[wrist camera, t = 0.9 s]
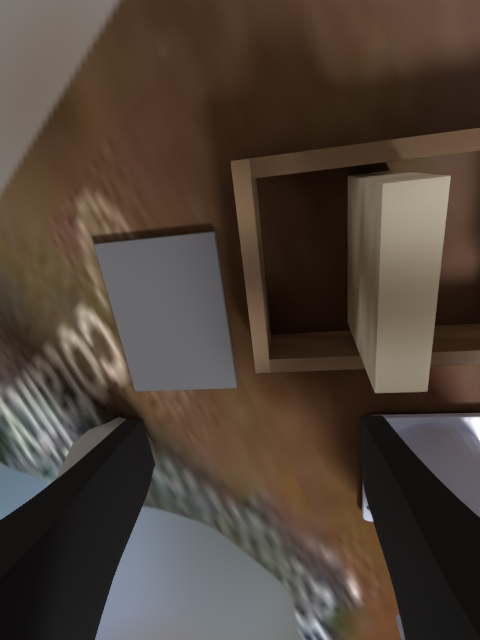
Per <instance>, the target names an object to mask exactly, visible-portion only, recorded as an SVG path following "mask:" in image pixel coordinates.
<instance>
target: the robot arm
mask: <svg viewBox="0 0 480 640" xmlns="http://www.w3.org/2000/svg"><path fill="white" fill-rule="evenodd" d="M154 467H155V461H154V457H153V454H152V450H151V447H150V443H149V439H148V436H147V432H146V428H145V425H144V421H143V419H126V420H125V421H124V422H122V423H121V424H120V425H119V426H118V427H116V428H115V429H114V430H113V431H112V432H111V433H110V434H109V435H107V436H106V437H105V438H104V439H103V440H102V441H101V442H100V443H99V444H97V445H96V446H95V447H94V448H93V449H92V450H91V451H89V452H88V453H87V454H86V455H85V456H84V457H83V458H81V459H80V460H79V461H78V462H77V463H76V464H75V465H73V466H72V467H71V468H70V469H68V470H67V471H66V472H65V473H64V474H62V475H61V476H60V477H59V478H57V479H56V480H55V481H54V482H52V483H51V484H50V485H49V486H48V487H46V488H45V489H44V490H42V491H41V492H40V493H38V494H37V495H36V496H34V497H33V498H32V499H30V500H29V501H28V502H26V503H25V504H23V505H22V506H20V507H19V508H18V509H16V510H15V511H13V512H12V513H11V514H9V515H7V516H6V517H5V518H3V519H1V520H0V640H95V637H96V634H97V630H98V626H99V623H100V619H101V616H102V613H103V610H104V606H105V603H106V600H107V596H108V594H109V590H110V587H111V584H112V580H113V578H114V575H115V572H116V570H117V567H118V564H119V561H120V559H121V557H122V554H123V552H124V549H125V547H126V544H127V542H128V540H129V537H130V535H131V532H132V530H133V527H134V525H135V523H136V520H137V518H138V515H139V512H140V510H141V508H142V505H143V503H144V500H145V498H146V495H147V493H148V489H149V486H150V482H151V478H152V475H153V471H154ZM360 470H361V475H362V480H363V488H362V515H363V518H364V519H365V520H367V521H373V522H374V525H375V528H376V532H377V535H378V538H379V541H380V544H381V548H382V551H383V554H384V557H385V560H386V564H387V567H388V570H389V573H390V577H391V580H392V584H393V588H394V591H395V595H396V600H397V604H398V609H399V613H400V614H399V615H397V616H396V619H397V623H398V627H399V631H400V636H401V640H480V413H446V414H395V415H366V416H361V439H360Z"/></svg>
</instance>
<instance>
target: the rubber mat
mask: <svg viewBox="0 0 480 640" xmlns="http://www.w3.org/2000/svg"><path fill="white" fill-rule="evenodd" d="M94 247H95V250H96V254H97V257H98V261H99V265H100V268H101V272H102V275H103V279H104V282H105V286H106V289H107V293H108V296H109V300H110V303H111V307H112V311H113V314H114V318H115V321H116V325H117V328H118V332H119V335H120V339H121V342H122V346H123V350H124V353H125V357H126V360H127V364H128V367H129V371H130V374H131V378H132V381H133V385H134V388H135V391H161V390H192V389H222V388H237V385H238V383H237V376H236V369H235V362H234V355H233V348H232V342H231V335H230V328H229V321H228V314H227V307H226V300H225V293H224V286H223V279H222V272H221V265H220V258H219V252H218V245H217V238H216V231H209V232H200V233H190V234H180V235H171V236H161V237H151V238H142V239H132V240H122V241H113V242H103V243H96V244H94Z"/></svg>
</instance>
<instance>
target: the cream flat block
mask: <svg viewBox="0 0 480 640" xmlns="http://www.w3.org/2000/svg"><path fill="white" fill-rule="evenodd" d="M450 178H451V176H447V175H436V174H424V173H413V172H402V171H382V172H373V173H365V174H357V175H349V176H348V325H349V328H350V330H351V333H352V335H353V338H354V340H355V343H356V346H357V348H358V351H359V353H360V356H361V359H362V361H363V364H364V366H365V369H366V372H367V374H368V377H369V379H370V382H371V384H372V387H373V390H374V392H375V393H399V392H427V391H428V382H429V373H430V364H431V354H432V345H433V336H434V326H435V317H436V308H437V299H438V289H439V280H440V271H441V262H442V252H443V243H444V234H445V224H446V215H447V206H448V197H449V187H450Z"/></svg>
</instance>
